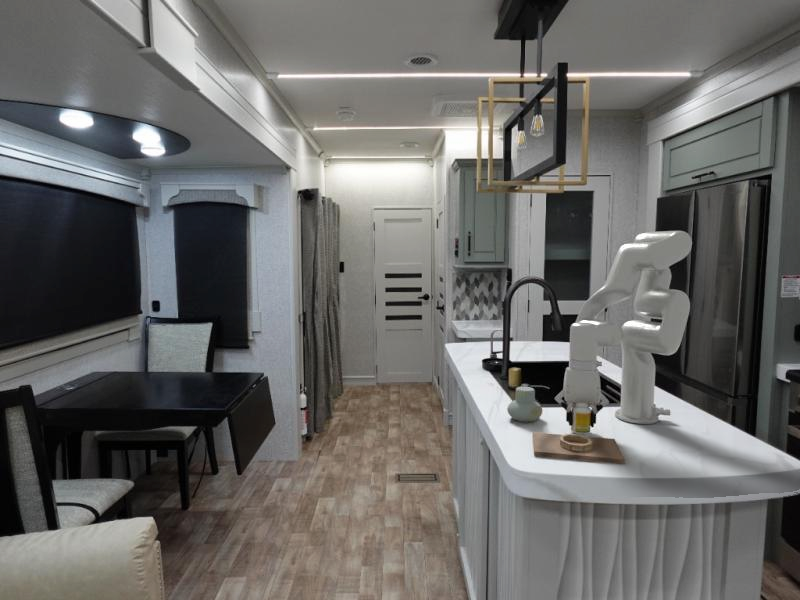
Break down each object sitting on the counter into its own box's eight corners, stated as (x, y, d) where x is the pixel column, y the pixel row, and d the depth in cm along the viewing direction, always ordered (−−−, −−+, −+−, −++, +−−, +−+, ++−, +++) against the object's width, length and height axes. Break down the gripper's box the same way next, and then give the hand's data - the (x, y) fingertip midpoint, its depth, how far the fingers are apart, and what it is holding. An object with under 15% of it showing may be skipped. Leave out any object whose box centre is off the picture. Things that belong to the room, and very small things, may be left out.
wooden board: (614, 442, 135) (614, 433, 135) (625, 463, 121) (625, 453, 121) (532, 436, 140) (532, 427, 140) (534, 455, 127) (534, 445, 126)
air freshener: (525, 426, 148) (525, 394, 148) (503, 419, 155) (503, 389, 154) (545, 418, 155) (546, 388, 154) (524, 412, 162) (524, 383, 161)
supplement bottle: (567, 430, 145) (567, 399, 144) (580, 427, 147) (581, 396, 146) (580, 436, 140) (581, 404, 139) (594, 433, 142) (595, 401, 141)
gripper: (611, 363, 143) (609, 422, 145) (551, 360, 147) (549, 418, 149) (616, 369, 136) (614, 431, 138) (553, 366, 140) (551, 427, 142)
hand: (580, 424), depth 143 cm, fingers closed on supplement bottle, 5 cm apart
